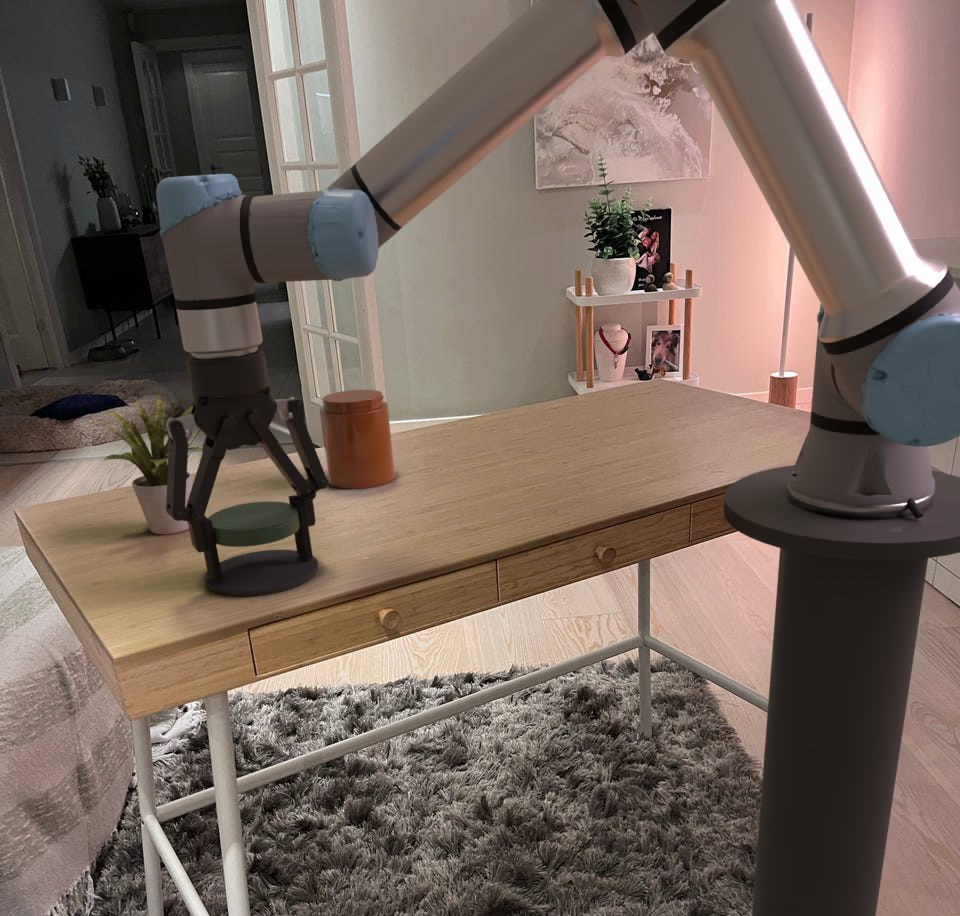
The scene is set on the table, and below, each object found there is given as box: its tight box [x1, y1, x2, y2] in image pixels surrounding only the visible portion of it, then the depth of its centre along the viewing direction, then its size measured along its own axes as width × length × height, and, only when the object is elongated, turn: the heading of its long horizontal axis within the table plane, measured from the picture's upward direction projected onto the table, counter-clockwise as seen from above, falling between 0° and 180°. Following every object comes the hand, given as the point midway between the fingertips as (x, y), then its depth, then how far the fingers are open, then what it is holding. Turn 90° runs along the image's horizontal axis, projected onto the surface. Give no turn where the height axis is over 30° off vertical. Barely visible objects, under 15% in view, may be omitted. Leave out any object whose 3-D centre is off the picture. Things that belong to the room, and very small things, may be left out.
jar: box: [319, 389, 396, 490], centre depth 133 cm, size 9×9×12 cm
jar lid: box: [207, 500, 300, 548], centre depth 102 cm, size 10×9×2 cm
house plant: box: [100, 393, 203, 535], centre depth 117 cm, size 14×14×16 cm
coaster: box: [204, 549, 320, 597], centre depth 104 cm, size 12×12×1 cm
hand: (261, 566), depth 104 cm, fingers closed on jar lid, 9 cm apart
